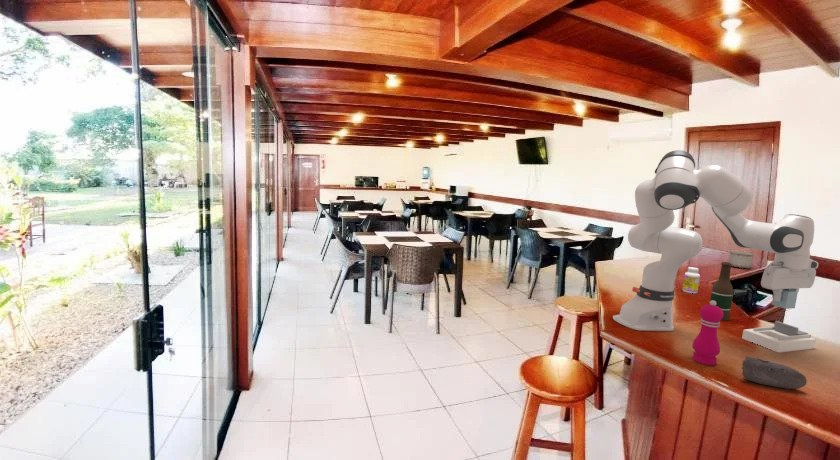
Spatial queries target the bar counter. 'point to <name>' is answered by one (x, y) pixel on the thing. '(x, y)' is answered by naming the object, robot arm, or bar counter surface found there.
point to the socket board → (778, 339)
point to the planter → (740, 259)
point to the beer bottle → (723, 290)
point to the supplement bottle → (691, 280)
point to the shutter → (787, 329)
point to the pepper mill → (708, 335)
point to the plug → (786, 299)
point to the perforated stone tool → (772, 374)
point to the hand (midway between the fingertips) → (783, 300)
